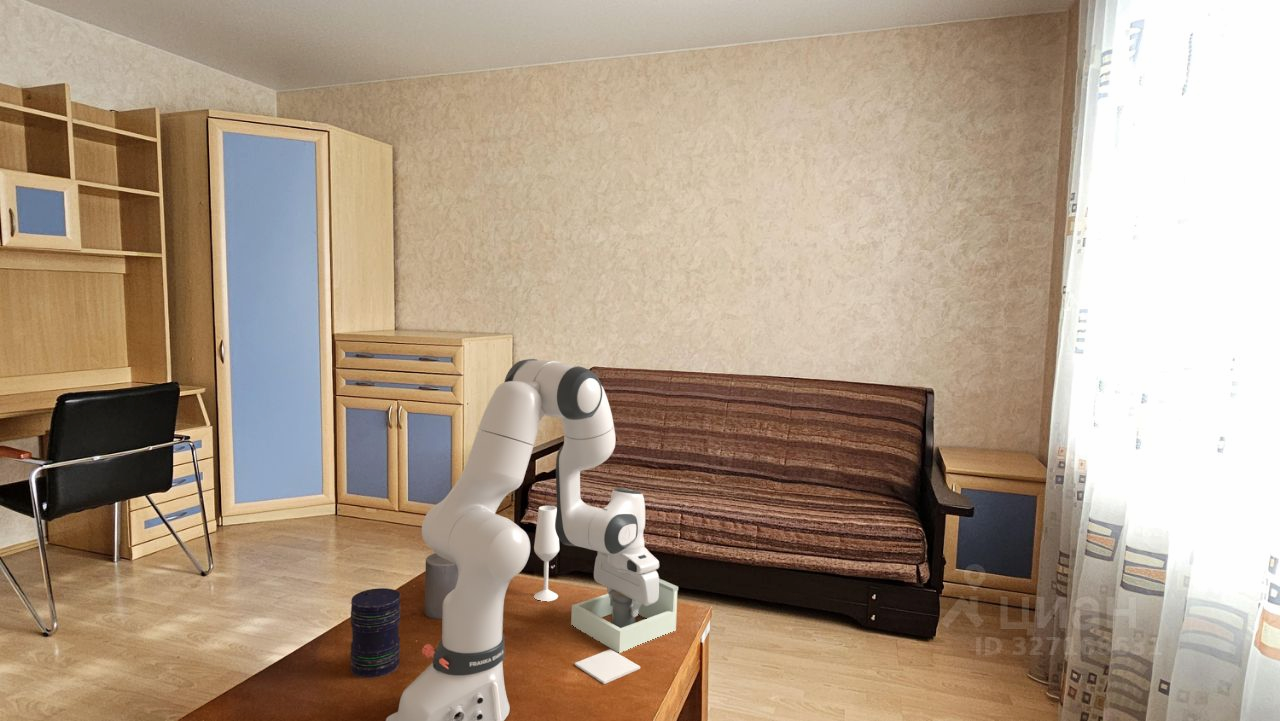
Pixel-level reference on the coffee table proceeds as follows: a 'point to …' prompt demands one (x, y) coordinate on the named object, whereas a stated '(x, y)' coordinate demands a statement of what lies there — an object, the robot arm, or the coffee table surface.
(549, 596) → the champagne flute
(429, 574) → the pillar candle
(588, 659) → the mat
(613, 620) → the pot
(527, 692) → the coffee table surface
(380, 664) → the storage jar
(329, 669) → the coffee table surface
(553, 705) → the coffee table surface
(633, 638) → the frame
